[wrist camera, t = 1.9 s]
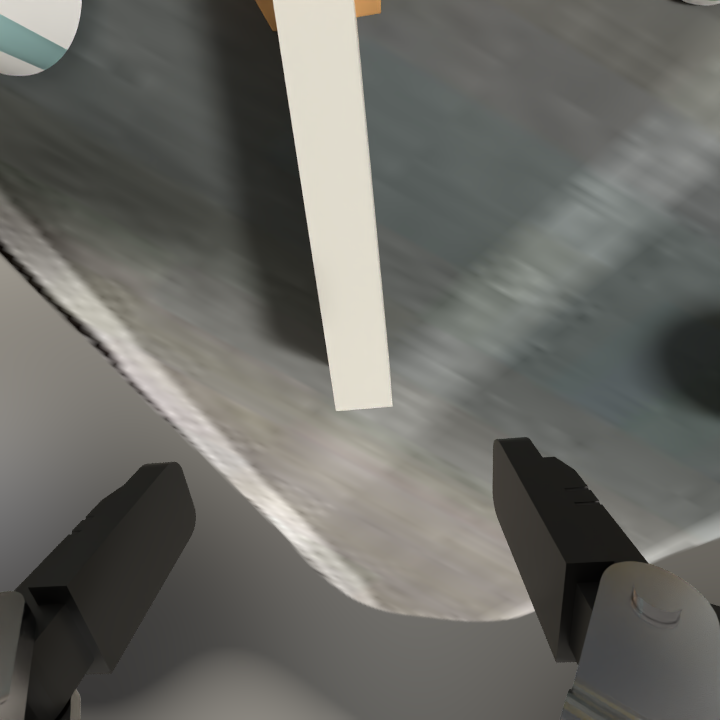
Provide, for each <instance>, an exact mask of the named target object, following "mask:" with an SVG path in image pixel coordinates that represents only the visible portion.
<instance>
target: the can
mask: <svg viewBox="0 0 720 720" xmlns="http://www.w3.org/2000/svg"><path fill="white" fill-rule="evenodd" d="M81 5H82V0H0V73H1V74H5V75H12V76H27V75H33V74H36V73H39V72H42V71H44V70H46V69H48V68H50V67H51V66H53V65H54V64H55V63H56V62H58V61H59V59H60V58H61V57H62V56H63V55H64V54H65V52H66V51H67V50H68V48H69V46H70V45H71V43H72V41H73V39H74V36H75V34H76V31H77V28H78V24H79V20H80V14H81Z"/></svg>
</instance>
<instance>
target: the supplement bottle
mask: <svg viewBox="0 0 720 720" xmlns="http://www.w3.org/2000/svg"><path fill="white" fill-rule="evenodd" d="M682 1H684V2H687V3H691V4H695V5H704V6H708V5H715V4H719V3H720V0H682Z"/></svg>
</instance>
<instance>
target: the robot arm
mask: <svg viewBox="0 0 720 720" xmlns="http://www.w3.org/2000/svg"><path fill="white" fill-rule="evenodd" d="M493 501H494V507H495V511H496V515H497V518H498V520H499V523H500V525H501V528H502V530H503V533H504V535H505V538H506V540H507V543H508V545H509V547H510V550H511V552H512V555H513V557H514V560H515V562H516V565H517V567H518V570H519V572H520V575H521V577H522V580H523V582H524V584H525V587H526V589H527V592H528V594H529V597H530V599H531V602H532V604H533V607H534V609H535V612H536V614H537V616H538V619H539V621H540V624H541V626H542V629H543V631H544V634H545V636H546V639H547V641H548V644H549V646H550V648H551V651H552V653H553V656H554V658H555V661H556V662H577V664H578V669H577V673H576V677H575V681H574V684H573V687H572V690H571V689H570V690H569V691H568V694H567V697H566V700H565V704H564V707H563V711H562V714H561V717H560V720H720V606H716V605H713V604H710V603H709V602H708V601H707V600H706V599H705V597H703V595H702V594H701V593H700V592H698V591H697V590H696V589H695V588H694V587H693V586H691V585H690V584H689V583H688V582H686V581H685V580H683V579H681V578H680V577H678V576H676V575H675V574H673V573H671V572H669V571H667V570H664V569H662V568H660V567H657V566H654V565H651V564H649V563H648V562H647V561H646V560H645V558H644V557H643V556H642V555H641V553H640V552H639V551H638V550H637V548H636V547H635V546H634V544H633V543H632V542H631V541H630V539H629V538H628V537H627V536H626V534H625V533H624V532H623V530H622V529H621V528H620V527H619V525H618V524H617V523H616V522H615V520H614V519H613V518H612V517H611V515H610V514H609V513H608V511H607V510H606V509H605V508H604V506H603V505H600V503H599V500H598V499H597V498H596V496H595V495H594V494H593V492H592V491H591V490H588V486H587V485H586V484H585V482H584V481H583V480H582V478H581V477H580V476H579V475H578V473H577V472H576V471H575V470H574V469H573V468H571V467H569V466H568V465H566V464H565V463H563V462H562V461H560V460H559V459H557V458H556V457H544V458H543V457H542V456H541V454H540V453H539V452H538V450H537V449H536V447H535V446H534V444H533V443H532V442H531V440H530V439H529V438H527V437H522V438H508V439H496V440H495V441H494V445H493ZM195 521H196V513H195V508H194V505H193V502H192V498H191V496H190V492H189V489H188V486H187V483H186V480H185V477H184V474H183V470H182V468H181V466H180V465H179V464H178V463H177V462H165V463H152V464H145V465H143V466H142V467H140V468H139V470H138V471H137V472H136V473H135V474H134V475H133V476H132V477H131V478H130V479H129V480H128V481H127V482H126V484H124V485H123V486H122V487H120V488H119V489H117V490H116V491H114V492H113V493H111V494H110V495H109V496H107V497H106V498H104V499H103V500H102V501H101V502H100V503H99V504H98V505H97V506H96V507H95V508H94V509H93V510H92V511H91V512H90V513H89V514H88V515H87V516H86V519H85V520H82V521H81V522H80V523H79V524H78V525H77V527H75V528H74V529H73V531H72V534H71V535H68V536H67V537H66V538H65V539H64V540H63V541H62V542H61V543H60V544H59V545H58V546H57V547H56V548H55V549H54V550H53V551H52V552H51V553H50V554H49V555H48V556H47V557H46V558H45V559H44V560H43V562H42V563H41V564H40V565H39V566H38V567H37V568H36V569H35V570H34V571H33V572H32V573H31V574H30V575H29V576H28V577H27V578H26V579H25V580H24V581H23V582H22V583H21V584H20V585H19V586H18V587H17V588H16V589H15V590H14V591H6V592H0V720H81V700H80V695H79V693H78V691H77V689H76V688H77V686H78V685H79V683H80V682H81V680H82V678H83V677H84V675H85V674H111V673H112V672H113V670H114V668H115V667H116V665H117V663H118V662H119V660H120V658H121V656H122V655H123V653H124V651H125V650H126V648H127V646H128V644H129V643H130V641H131V639H132V637H133V636H134V634H135V632H136V631H137V629H138V627H139V625H140V624H141V622H142V620H143V618H144V617H145V615H146V613H147V611H148V609H149V608H150V606H151V605H152V603H153V601H154V599H155V598H156V596H157V594H158V592H159V590H160V589H161V587H162V585H163V584H164V582H165V580H166V579H167V577H168V575H169V573H170V571H171V570H172V568H173V567H174V565H175V563H176V561H177V560H178V558H179V556H180V554H181V553H182V551H183V549H184V548H185V546H186V544H187V542H188V541H189V539H190V537H191V535H192V533H193V530H194V527H195Z"/></svg>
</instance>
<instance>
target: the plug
mask: <svg viewBox="0 0 720 720" xmlns="http://www.w3.org/2000/svg"><path fill="white" fill-rule="evenodd" d="M255 1H256V3H257V5H258V6H259V8H260V10H261V12H262V13H263V15H264V17H265V19H266V20H267V22H268V24H269V25H270V27H271V29H272V31H278V37H279V44H280V50H281V57H282V63H283V70H284V76H285V83H286V89H287V96H288V102H289V109H290V115H291V122H292V128H293V135H294V141H295V148H296V154H297V161H298V167H299V173H300V180H301V186H302V193H303V199H304V206H305V212H306V219H307V225H308V232H309V238H310V245H311V251H312V258H313V264H314V271H315V277H316V284H317V290H318V297H319V303H320V310H321V316H322V323H323V329H324V335H325V342H326V348H327V355H328V361H329V368H330V374H331V381H332V387H333V394H334V400H335V407H336V411H343V410H355V409H367V408H379V407H392V392H391V378H390V365H389V354H388V344H387V333H386V323H385V312H384V302H383V291H382V281H381V270H380V260H379V250H378V239H377V229H376V218H375V208H374V197H373V187H372V176H371V166H370V155H369V145H368V134H367V124H366V113H365V103H364V92H363V82H362V72H361V61H360V51H359V40H358V30H357V19H356V17H360V16H366V15H372V14H378V13H381V0H255Z"/></svg>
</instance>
